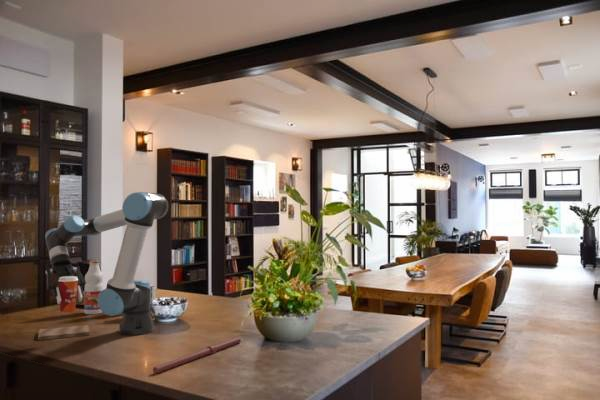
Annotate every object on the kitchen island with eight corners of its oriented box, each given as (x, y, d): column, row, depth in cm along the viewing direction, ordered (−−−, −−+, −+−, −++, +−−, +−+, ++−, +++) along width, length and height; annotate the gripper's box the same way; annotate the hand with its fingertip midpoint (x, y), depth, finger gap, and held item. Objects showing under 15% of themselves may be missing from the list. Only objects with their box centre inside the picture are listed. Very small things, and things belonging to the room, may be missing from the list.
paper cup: (69, 312, 196) (70, 278, 196) (53, 311, 198) (54, 278, 198) (81, 309, 204) (82, 276, 204) (66, 308, 205) (66, 275, 206)
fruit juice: (107, 311, 260) (107, 260, 261) (94, 315, 251) (94, 261, 252) (93, 310, 263) (94, 259, 264) (80, 313, 254) (80, 261, 255)
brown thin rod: (235, 343, 200) (236, 335, 200) (241, 344, 198) (241, 336, 199) (151, 374, 162) (151, 365, 162) (158, 376, 160) (158, 366, 160)
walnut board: (88, 328, 224) (88, 324, 224) (89, 335, 211) (89, 331, 211) (39, 332, 215) (39, 329, 215) (37, 340, 202) (37, 336, 202)
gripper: (82, 262, 219) (93, 303, 207) (32, 265, 206) (41, 309, 193) (86, 251, 215) (98, 292, 203) (35, 254, 202) (45, 298, 189)
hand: (70, 300), depth 198 cm, fingers closed on paper cup, 8 cm apart
